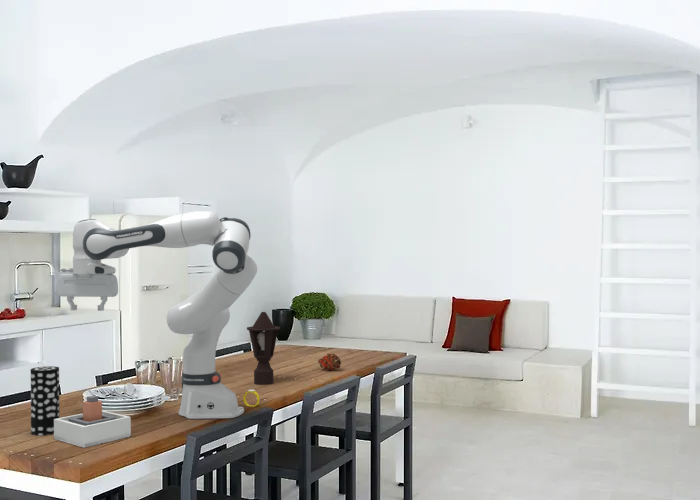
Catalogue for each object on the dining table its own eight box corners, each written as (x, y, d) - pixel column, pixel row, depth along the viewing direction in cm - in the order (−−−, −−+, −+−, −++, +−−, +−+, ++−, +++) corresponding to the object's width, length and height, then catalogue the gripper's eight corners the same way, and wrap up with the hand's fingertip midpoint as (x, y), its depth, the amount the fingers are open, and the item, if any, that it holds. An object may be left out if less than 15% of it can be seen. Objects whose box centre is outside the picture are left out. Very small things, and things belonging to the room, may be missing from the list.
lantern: (284, 380, 326) (284, 310, 325) (277, 386, 311) (277, 313, 310) (250, 379, 327) (250, 310, 327) (242, 386, 312) (242, 313, 312)
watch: (260, 406, 275) (261, 390, 275) (256, 408, 272) (257, 392, 272) (245, 404, 277) (246, 388, 277) (241, 406, 274) (242, 389, 274)
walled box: (100, 428, 242) (100, 409, 242) (130, 436, 232) (130, 416, 232) (54, 438, 229) (53, 419, 229) (84, 447, 219) (83, 427, 219)
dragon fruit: (341, 375, 346) (319, 376, 352) (347, 362, 353) (326, 363, 359) (333, 361, 342) (311, 363, 349) (340, 348, 349) (318, 350, 355)
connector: (94, 432, 234) (94, 394, 233) (102, 434, 231) (101, 396, 231) (83, 434, 230) (82, 396, 230) (90, 436, 228) (90, 398, 228)
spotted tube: (63, 428, 242) (62, 366, 242) (54, 435, 234) (53, 370, 233) (37, 429, 242) (36, 366, 241) (26, 435, 233) (26, 370, 233)
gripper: (52, 268, 248) (52, 311, 248) (111, 268, 245) (111, 311, 245) (62, 268, 254) (62, 309, 254) (120, 268, 251) (120, 309, 251)
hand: (87, 310), depth 250 cm, fingers open, 8 cm apart
